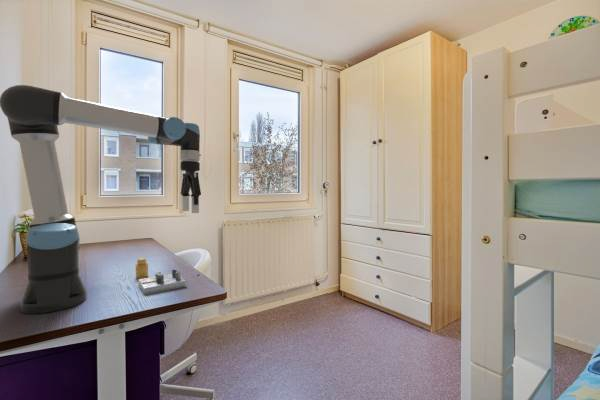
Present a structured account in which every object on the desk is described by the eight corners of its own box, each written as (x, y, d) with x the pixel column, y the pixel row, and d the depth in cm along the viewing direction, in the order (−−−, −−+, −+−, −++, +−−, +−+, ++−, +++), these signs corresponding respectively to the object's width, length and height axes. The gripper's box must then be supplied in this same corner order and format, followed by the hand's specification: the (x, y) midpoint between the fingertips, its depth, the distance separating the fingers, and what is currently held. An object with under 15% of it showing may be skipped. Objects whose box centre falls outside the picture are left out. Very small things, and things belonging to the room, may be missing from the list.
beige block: (136, 279, 111) (136, 260, 111) (135, 276, 114) (134, 258, 114) (148, 277, 113) (148, 259, 113) (147, 274, 117) (146, 257, 117)
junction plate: (144, 294, 95) (144, 280, 95) (138, 284, 104) (138, 272, 104) (186, 286, 102) (185, 273, 102) (177, 278, 112) (176, 266, 112)
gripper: (209, 159, 115) (209, 213, 116) (190, 164, 135) (190, 210, 136) (189, 158, 111) (189, 214, 111) (173, 163, 131) (173, 210, 131)
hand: (190, 212), depth 124 cm, fingers open, 13 cm apart
